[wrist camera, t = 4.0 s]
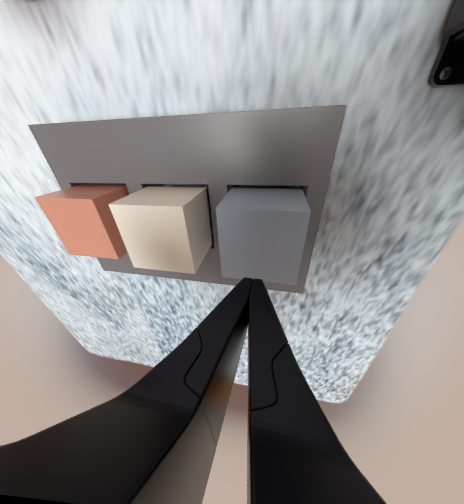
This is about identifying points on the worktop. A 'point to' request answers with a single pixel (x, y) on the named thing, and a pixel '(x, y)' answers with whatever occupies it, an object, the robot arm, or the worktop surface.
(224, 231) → the slate key
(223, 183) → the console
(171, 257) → the ivory key
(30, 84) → the worktop surface
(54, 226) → the brick key
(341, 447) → the robot arm
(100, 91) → the worktop surface
